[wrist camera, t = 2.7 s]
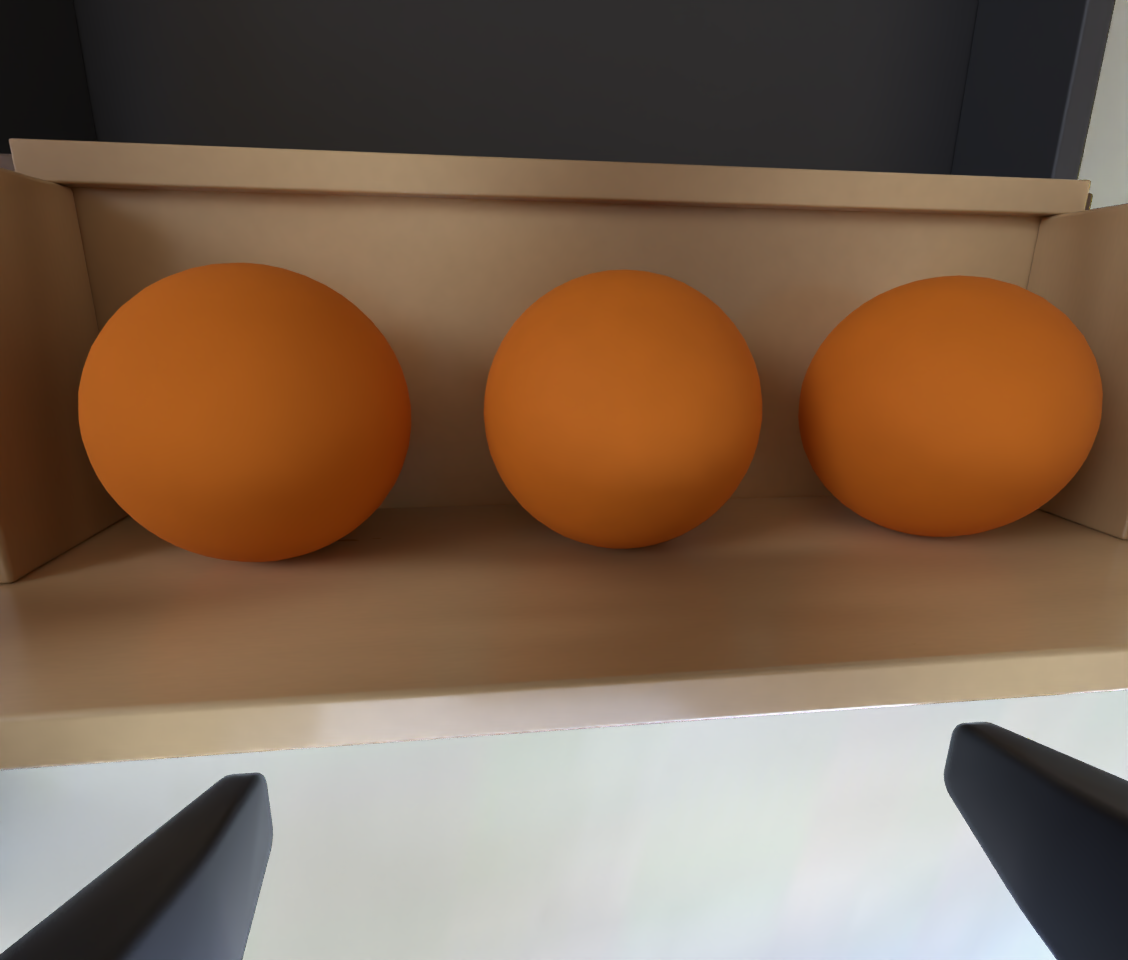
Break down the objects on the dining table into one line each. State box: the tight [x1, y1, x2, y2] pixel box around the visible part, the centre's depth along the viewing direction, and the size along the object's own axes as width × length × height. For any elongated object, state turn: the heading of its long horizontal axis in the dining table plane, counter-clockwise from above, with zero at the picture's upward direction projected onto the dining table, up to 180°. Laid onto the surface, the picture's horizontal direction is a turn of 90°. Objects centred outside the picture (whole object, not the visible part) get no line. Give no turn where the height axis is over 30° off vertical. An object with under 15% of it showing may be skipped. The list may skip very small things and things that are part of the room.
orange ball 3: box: [798, 275, 1103, 537], centre depth 9 cm, size 4×4×4 cm
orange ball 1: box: [78, 263, 411, 562], centre depth 7 cm, size 4×4×4 cm
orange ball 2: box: [484, 269, 762, 549], centre depth 8 cm, size 4×4×4 cm
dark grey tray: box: [0, 0, 1115, 180], centre depth 12 cm, size 20×13×4 cm, turn 89°
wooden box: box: [0, 138, 1128, 770], centre depth 7 cm, size 15×6×6 cm, turn 89°
